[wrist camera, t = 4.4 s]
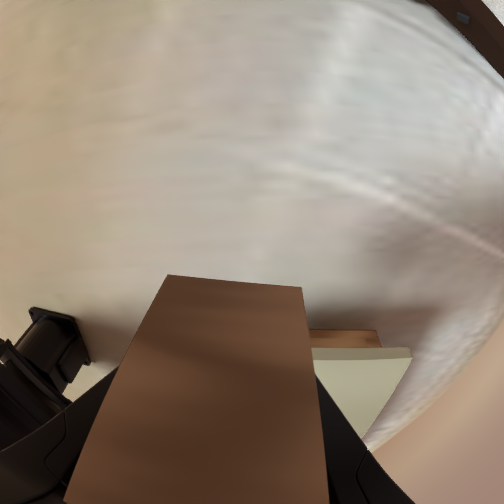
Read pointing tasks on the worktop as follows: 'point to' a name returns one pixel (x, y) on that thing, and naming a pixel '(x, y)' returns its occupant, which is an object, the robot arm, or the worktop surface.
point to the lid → (361, 379)
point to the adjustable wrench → (476, 27)
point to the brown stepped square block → (210, 404)
